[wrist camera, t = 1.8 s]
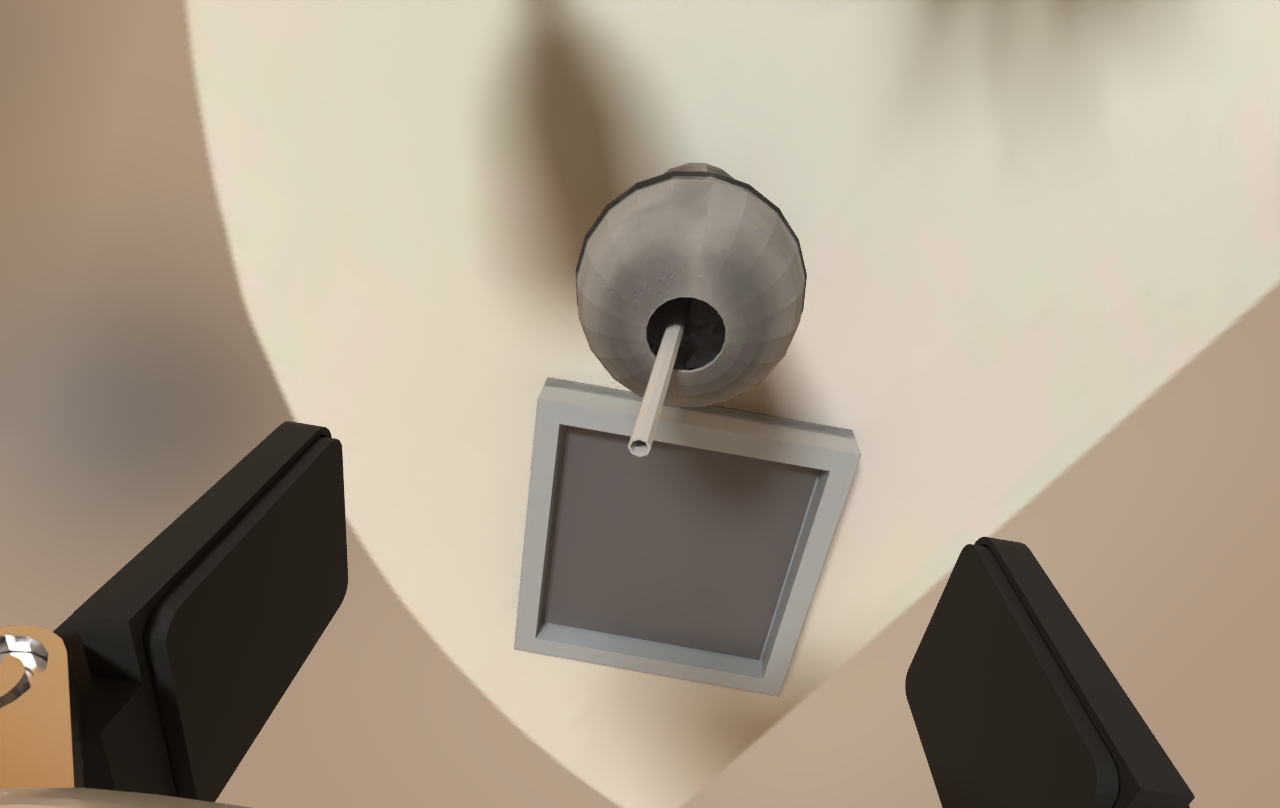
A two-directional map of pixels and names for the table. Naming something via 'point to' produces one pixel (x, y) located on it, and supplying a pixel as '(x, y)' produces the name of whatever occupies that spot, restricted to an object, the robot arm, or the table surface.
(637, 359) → the beverage cup
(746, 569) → the tray
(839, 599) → the table surface
